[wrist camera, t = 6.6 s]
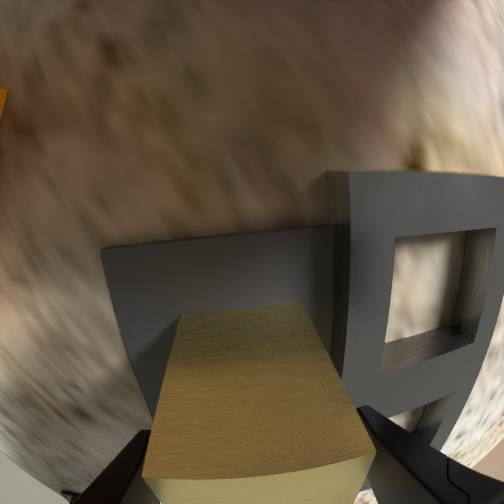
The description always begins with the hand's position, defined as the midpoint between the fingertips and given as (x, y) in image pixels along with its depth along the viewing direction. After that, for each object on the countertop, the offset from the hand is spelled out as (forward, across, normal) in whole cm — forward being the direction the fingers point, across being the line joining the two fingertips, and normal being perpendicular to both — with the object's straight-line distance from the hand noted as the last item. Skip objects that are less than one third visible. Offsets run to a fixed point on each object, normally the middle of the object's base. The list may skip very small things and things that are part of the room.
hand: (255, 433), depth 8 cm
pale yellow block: (+4, 0, 0) cm, 4 cm away
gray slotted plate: (+4, -8, +3) cm, 10 cm away
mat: (+4, 0, 0) cm, 4 cm away
